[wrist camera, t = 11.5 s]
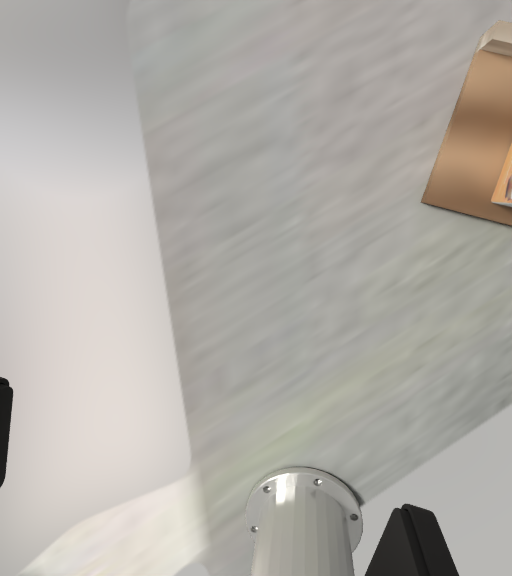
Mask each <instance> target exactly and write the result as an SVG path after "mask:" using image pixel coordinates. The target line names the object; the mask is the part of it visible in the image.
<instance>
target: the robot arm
mask: <svg viewBox="0 0 512 576" xmlns="http://www.w3.org/2000/svg"><path fill="white" fill-rule="evenodd" d="M12 401H13V389H12V388H11V387H9V382H8V380H7V379H5V378H2V377H0V487H1V486H2V484H3V482H4V479H5V474H6V462H7V453H8V442H9V431H10V421H11V411H12ZM245 519H246V525H247V529H248V532H249V534H250V537H251V538H252V540H253V541H254V543H255V550H254V556H253V563H252V570H251V576H354V569H353V560H352V552H353V551H354V550H355V549H356V547H357V545H358V544H359V542H360V539H361V536H362V532H363V521H362V514H361V510H360V507H359V503H358V501H357V500H356V498H355V496H354V494H353V493H352V492H351V491H350V490H349V488H348V487H347V486H346V485H345V484H343V483H342V482H341V481H340V480H338V479H337V478H335V477H333V476H332V475H330V474H328V473H325V472H322V471H320V470H317V469H311V468H306V467H293V468H286V469H282V470H279V471H276V472H273V473H271V474H269V475H268V476H266V477H264V478H263V479H262V480H261V481H260V482H258V483H257V485H256V486H255V487H254V489H253V490H252V491H251V494H250V496H249V498H248V502H247V507H246V516H245ZM365 576H459V574H458V572H457V570H456V567H455V564H454V562H453V559H452V557H451V554H450V552H449V550H448V547H447V544H446V542H445V539H444V537H443V534H442V532H441V529H440V527H439V525H438V522H437V520H436V517H435V515H434V513H433V512H431V511H429V510H426V509H423V508H420V507H416V506H413V505H410V504H404V505H403V506H402V508H401V509H399V508H395V509H394V510H393V512H392V514H391V516H390V518H389V521H388V523H387V526H386V528H385V530H384V532H383V535H382V537H381V539H380V542H379V544H378V546H377V548H376V551H375V553H374V555H373V558H372V560H371V562H370V565H369V567H368V569H367V572H366V574H365Z"/></svg>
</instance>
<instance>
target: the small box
mask: <svg viewBox="0 0 512 576" xmlns="http://www.w3.org/2000/svg"><path fill="white" fill-rule="evenodd" d="M491 202H492V203H496V204H500V205H505V206H510V207H512V144H511V146H510V149H509V152H508V154H507V157H506V160H505V163H504V166H503V168H502V171H501V174H500V177H499V179H498V182H497V185H496V188H495V191H494V193H493V196H492V199H491Z"/></svg>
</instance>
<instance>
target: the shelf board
mask: <svg viewBox="0 0 512 576" xmlns="http://www.w3.org/2000/svg"><path fill="white" fill-rule="evenodd" d="M511 144H512V23H509V22H505V21H501V20H499V21H498V22H497V23H495V24H494V25H493V26H492V27H491V28H490V29H489V30H488V31H487V32H486V33H485V34H483V35H482V36H481V37H480V40H479V43H478V45H477V48H476V51H475V54H474V57H473V59H472V62H471V65H470V68H469V70H468V73H467V76H466V79H465V81H464V84H463V87H462V90H461V93H460V95H459V98H458V101H457V104H456V106H455V109H454V112H453V115H452V117H451V120H450V123H449V126H448V128H447V131H446V134H445V137H444V140H443V142H442V145H441V148H440V151H439V153H438V156H437V159H436V162H435V164H434V167H433V170H432V173H431V176H430V178H429V181H428V184H427V187H426V189H425V192H424V195H423V198H422V200H421V202H422V203H426V204H430V205H433V206H437V207H441V208H445V209H449V210H453V211H457V212H460V213H464V214H468V215H472V216H476V217H480V218H483V219H487V220H491V221H495V222H499V223H503V224H506V225H510V226H512V207H510V206H505V205H500V204H496V203H492V202H491V199H492V196H493V193H494V191H495V188H496V185H497V182H498V179H499V177H500V174H501V171H502V168H503V166H504V163H505V160H506V157H507V154H508V152H509V149H510V146H511Z"/></svg>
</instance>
